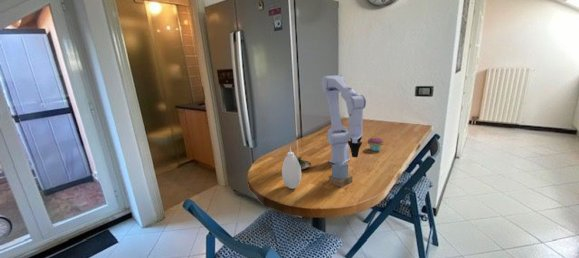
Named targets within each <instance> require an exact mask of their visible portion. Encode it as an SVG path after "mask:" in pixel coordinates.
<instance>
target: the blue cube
mask: <svg viewBox="0 0 579 258" xmlns="http://www.w3.org/2000/svg"><path fill="white" fill-rule="evenodd" d="M331 175H332V177H334V178H338V179H342V180H343V179H344V178H345V177H347V176H348V175H349V164H348V163H340V162H337V163H333V164H332V165H331Z"/></svg>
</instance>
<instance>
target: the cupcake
mask: <svg viewBox="0 0 579 258" xmlns="http://www.w3.org/2000/svg"><path fill="white" fill-rule="evenodd" d="M371 132H372V133H371V134H372V137H370V138H369V139H368V140H367V144H368V145H369V148H370V150H371V151H374V152H378V151H380V150H381V147H382V146H383V145H384V143H385V142H384V139H382V138H381V137H377V136H376V137H375V133H374V130H373V129H372V131H371Z"/></svg>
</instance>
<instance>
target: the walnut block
mask: <svg viewBox="0 0 579 258" xmlns="http://www.w3.org/2000/svg"><path fill="white" fill-rule="evenodd" d="M328 183H330V184H332V185H335V186H337V187H340V188H344V187H345V186H348V185H349V184H351V183H353V176H352V175H350V174H348V176H347V177H345V178H344V179H343V180H342V179H338V178H334V177H332V174H331V175H329V176H328Z"/></svg>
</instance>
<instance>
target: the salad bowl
mask: <svg viewBox="0 0 579 258" xmlns="http://www.w3.org/2000/svg"><path fill="white" fill-rule="evenodd" d="M295 156H296V158H297V159H298V161H299V164H300V167H301V171H302V170H306V169H307V168H309V167H310V166H312V163H311V162H310V161H308V160H304V159H302V156H301V155H299V154H298V155H297V154H296V155H295Z"/></svg>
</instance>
